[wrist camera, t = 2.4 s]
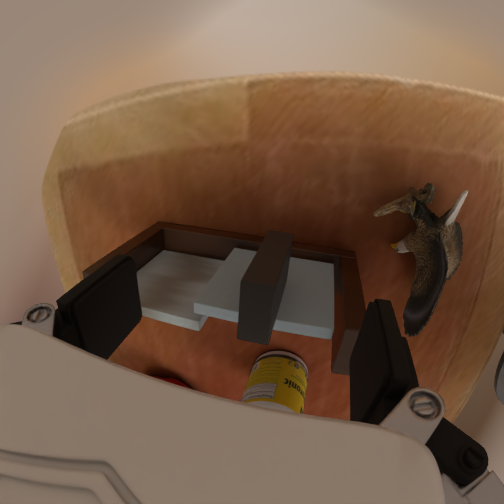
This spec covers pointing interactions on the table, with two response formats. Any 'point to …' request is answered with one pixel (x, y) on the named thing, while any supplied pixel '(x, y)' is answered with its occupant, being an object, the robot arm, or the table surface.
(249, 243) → the dark brown u-shaped frame
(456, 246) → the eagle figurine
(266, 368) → the supplement bottle
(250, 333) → the sliding panel with handle
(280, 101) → the table surface
